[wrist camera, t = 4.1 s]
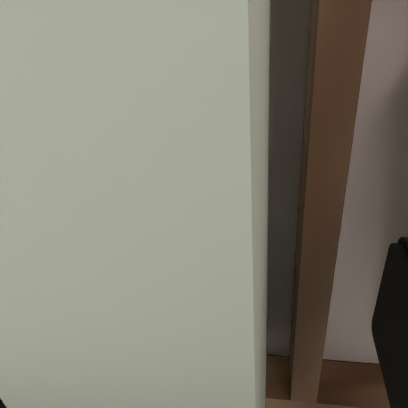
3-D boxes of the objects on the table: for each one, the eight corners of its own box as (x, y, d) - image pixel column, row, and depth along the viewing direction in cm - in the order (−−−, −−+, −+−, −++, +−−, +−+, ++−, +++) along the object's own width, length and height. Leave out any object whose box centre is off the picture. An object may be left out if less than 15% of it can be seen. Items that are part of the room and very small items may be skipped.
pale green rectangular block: (270, -58, 9) (245, -57, 2) (266, 331, 17) (259, 635, 9) (148, -46, 10) (-267, -4, 2) (198, 326, 17) (141, 611, 10)
